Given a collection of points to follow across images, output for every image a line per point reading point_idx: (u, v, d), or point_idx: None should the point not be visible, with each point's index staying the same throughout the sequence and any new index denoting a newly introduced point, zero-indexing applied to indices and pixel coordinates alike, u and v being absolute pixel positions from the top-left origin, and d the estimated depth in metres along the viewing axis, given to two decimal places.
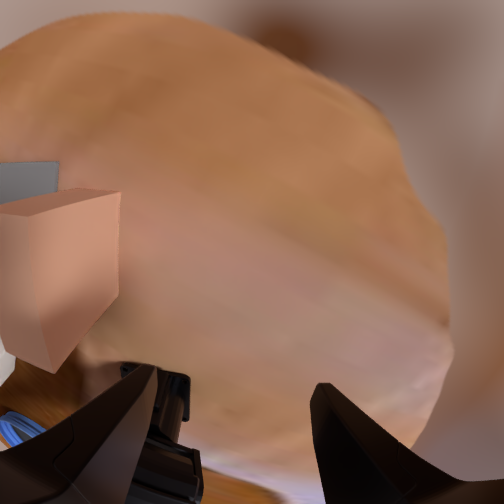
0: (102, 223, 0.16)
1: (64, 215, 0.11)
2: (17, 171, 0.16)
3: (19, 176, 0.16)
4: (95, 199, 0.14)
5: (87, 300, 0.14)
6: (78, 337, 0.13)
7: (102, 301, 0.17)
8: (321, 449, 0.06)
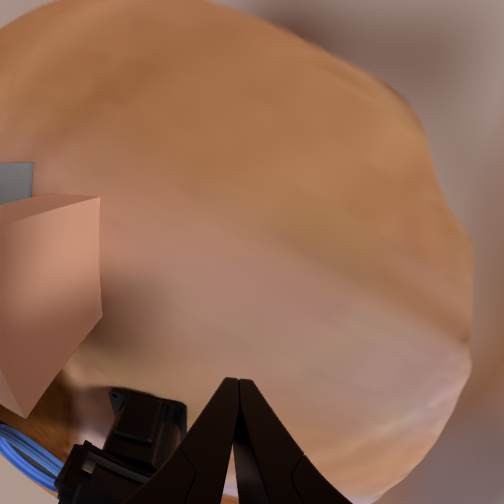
0: (76, 236, 0.12)
1: (20, 232, 0.08)
2: None
3: None
4: (64, 208, 0.11)
5: (60, 329, 0.11)
6: (52, 373, 0.10)
7: (81, 327, 0.13)
8: (236, 449, 0.06)
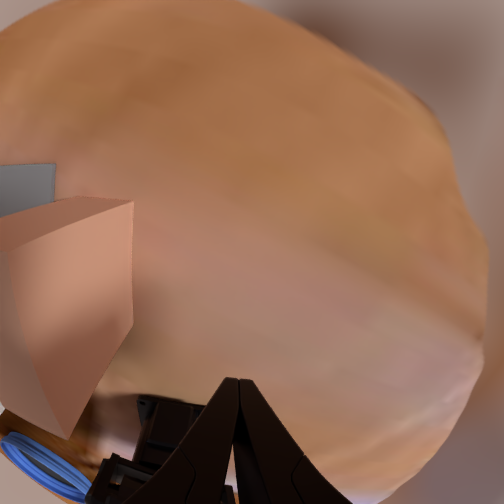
0: (112, 243, 0.12)
1: (62, 241, 0.08)
2: (7, 176, 0.13)
3: (8, 182, 0.13)
4: (103, 214, 0.11)
5: (98, 341, 0.11)
6: (91, 388, 0.10)
7: (116, 337, 0.14)
8: (236, 449, 0.06)
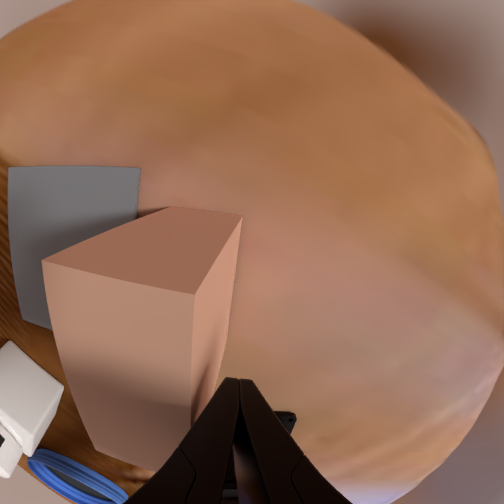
0: (232, 262, 0.13)
1: (218, 268, 0.08)
2: (67, 178, 0.14)
3: (70, 185, 0.14)
4: (233, 233, 0.11)
5: (214, 369, 0.11)
6: None
7: (220, 360, 0.14)
8: (236, 449, 0.06)
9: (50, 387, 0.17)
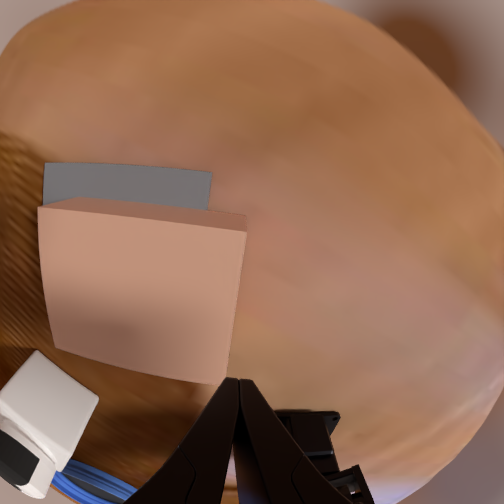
0: (174, 264, 0.11)
1: (82, 222, 0.10)
2: (124, 178, 0.14)
3: (127, 186, 0.14)
4: (150, 222, 0.11)
5: (124, 338, 0.12)
6: (100, 357, 0.12)
7: (165, 364, 0.13)
8: (236, 449, 0.06)
9: (85, 399, 0.17)
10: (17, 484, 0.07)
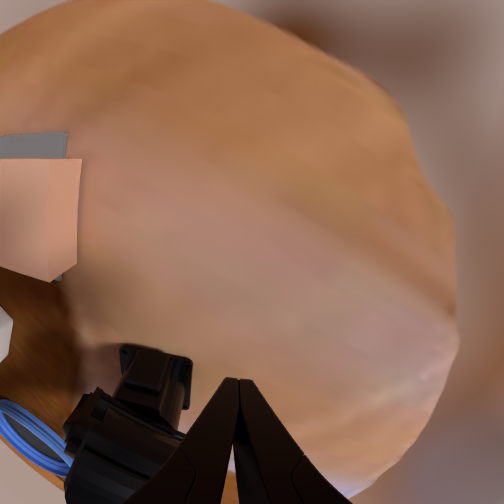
0: (20, 185, 0.13)
1: None
2: (24, 143, 0.15)
3: (25, 147, 0.16)
4: (12, 160, 0.12)
5: (1, 241, 0.14)
6: None
7: (19, 261, 0.14)
8: (236, 449, 0.06)
9: (1, 319, 0.19)
10: None
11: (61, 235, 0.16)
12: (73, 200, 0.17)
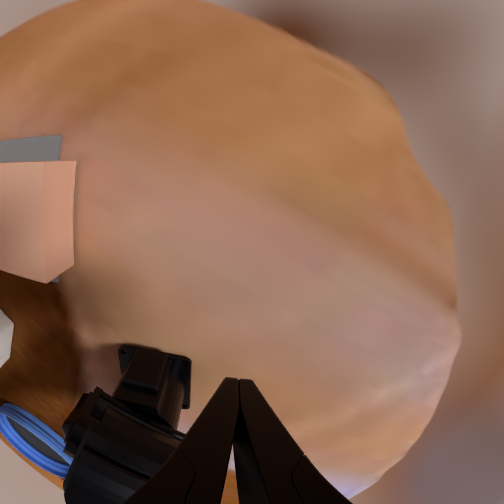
0: (16, 188, 0.13)
1: None
2: (19, 147, 0.15)
3: (20, 151, 0.16)
4: (8, 164, 0.12)
5: None
6: None
7: (17, 264, 0.14)
8: (236, 449, 0.06)
9: (2, 322, 0.19)
10: None
11: (57, 237, 0.16)
12: (68, 202, 0.17)
